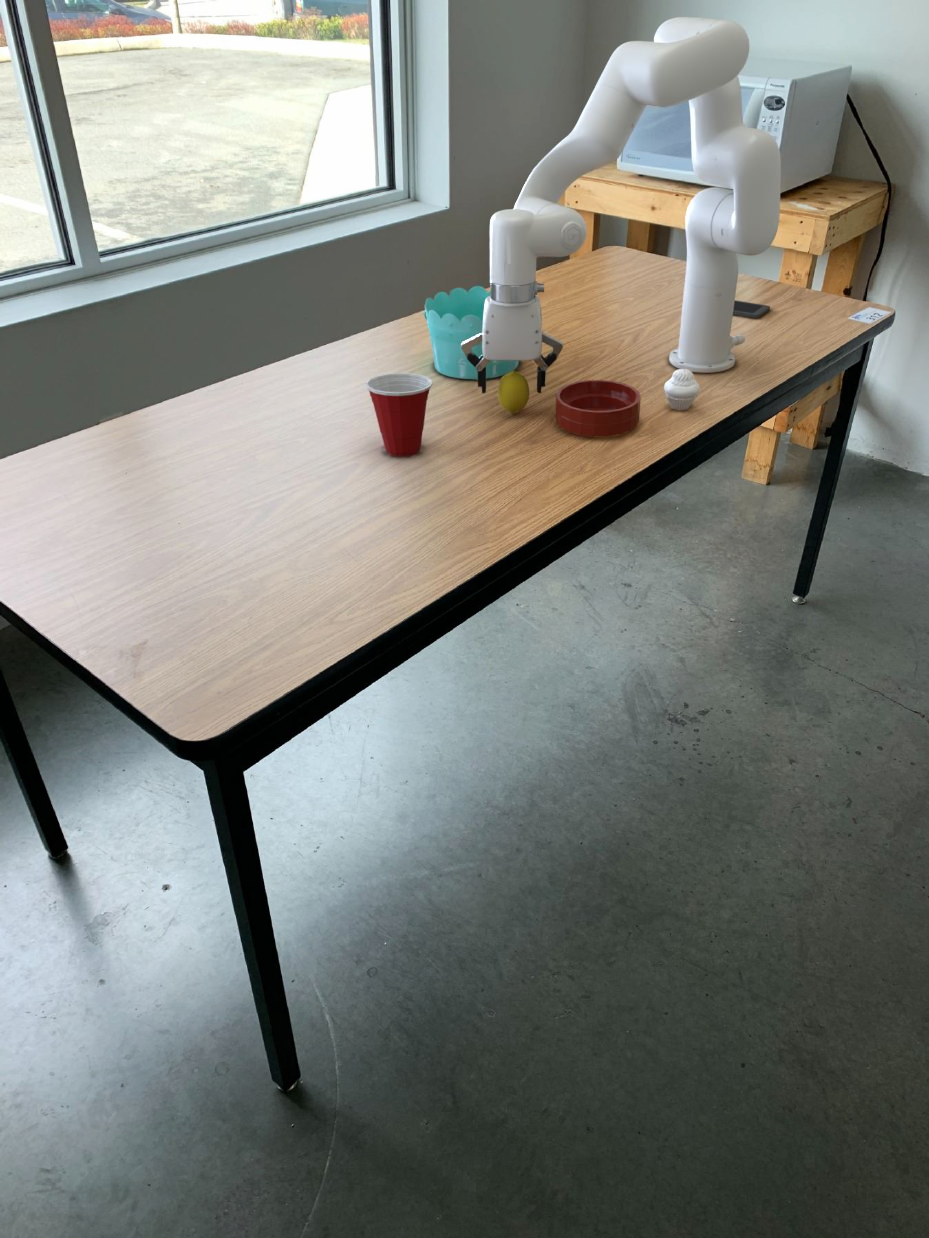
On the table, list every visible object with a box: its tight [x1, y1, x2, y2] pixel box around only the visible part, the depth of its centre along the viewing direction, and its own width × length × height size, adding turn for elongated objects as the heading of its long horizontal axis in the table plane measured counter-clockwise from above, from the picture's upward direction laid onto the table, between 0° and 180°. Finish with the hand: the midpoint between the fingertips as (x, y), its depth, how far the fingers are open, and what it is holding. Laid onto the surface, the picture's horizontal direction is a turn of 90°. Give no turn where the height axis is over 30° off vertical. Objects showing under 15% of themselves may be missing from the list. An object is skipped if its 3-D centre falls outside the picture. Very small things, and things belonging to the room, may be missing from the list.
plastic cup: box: [364, 372, 434, 458], centre depth 158 cm, size 11×11×12 cm
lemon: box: [497, 370, 530, 415], centre depth 170 cm, size 6×6×8 cm
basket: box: [423, 285, 520, 381], centre depth 189 cm, size 19×18×13 cm
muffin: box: [663, 368, 700, 411], centre depth 171 cm, size 6×6×7 cm
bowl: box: [555, 379, 642, 438], centre depth 167 cm, size 14×14×5 cm
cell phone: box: [733, 299, 771, 319], centre depth 215 cm, size 7×14×1 cm, turn 55°
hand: (511, 390), depth 169 cm, fingers open, 9 cm apart
